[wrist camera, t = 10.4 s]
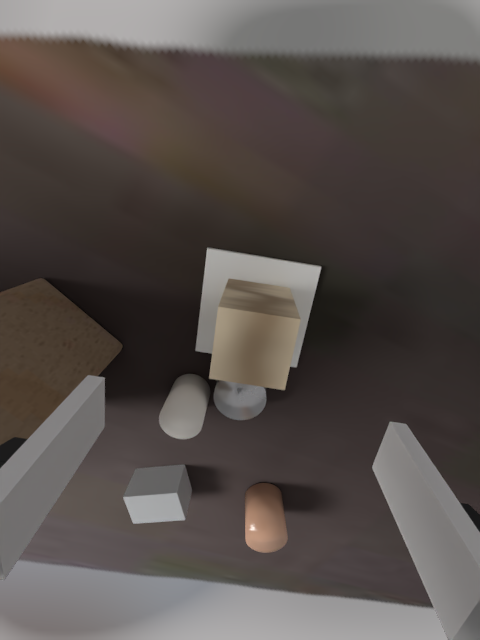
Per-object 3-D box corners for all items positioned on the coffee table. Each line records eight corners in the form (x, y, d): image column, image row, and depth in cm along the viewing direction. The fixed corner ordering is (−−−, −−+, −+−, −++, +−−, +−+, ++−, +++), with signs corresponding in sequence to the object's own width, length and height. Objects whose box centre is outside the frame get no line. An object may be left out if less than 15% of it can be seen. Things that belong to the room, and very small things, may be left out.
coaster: (196, 348, 32) (195, 350, 31) (208, 247, 28) (207, 248, 28) (295, 364, 32) (296, 367, 31) (320, 265, 28) (321, 267, 28)
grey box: (145, 492, 39) (133, 523, 36) (136, 467, 38) (122, 497, 34) (192, 489, 39) (185, 520, 35) (185, 463, 37) (177, 492, 34)
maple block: (221, 334, 30) (208, 378, 23) (228, 278, 28) (218, 306, 21) (278, 343, 30) (284, 390, 23) (289, 287, 28) (300, 319, 21)
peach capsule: (248, 511, 39) (249, 554, 35) (241, 485, 38) (241, 527, 33) (284, 506, 39) (290, 549, 34) (278, 480, 37) (284, 521, 33)
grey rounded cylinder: (171, 403, 34) (157, 435, 30) (174, 370, 33) (160, 399, 28) (208, 409, 34) (200, 442, 30) (212, 377, 33) (205, 406, 28)
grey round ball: (214, 397, 34) (210, 415, 31) (220, 356, 32) (217, 371, 29) (261, 405, 34) (261, 423, 31) (270, 364, 32) (271, 379, 29)
